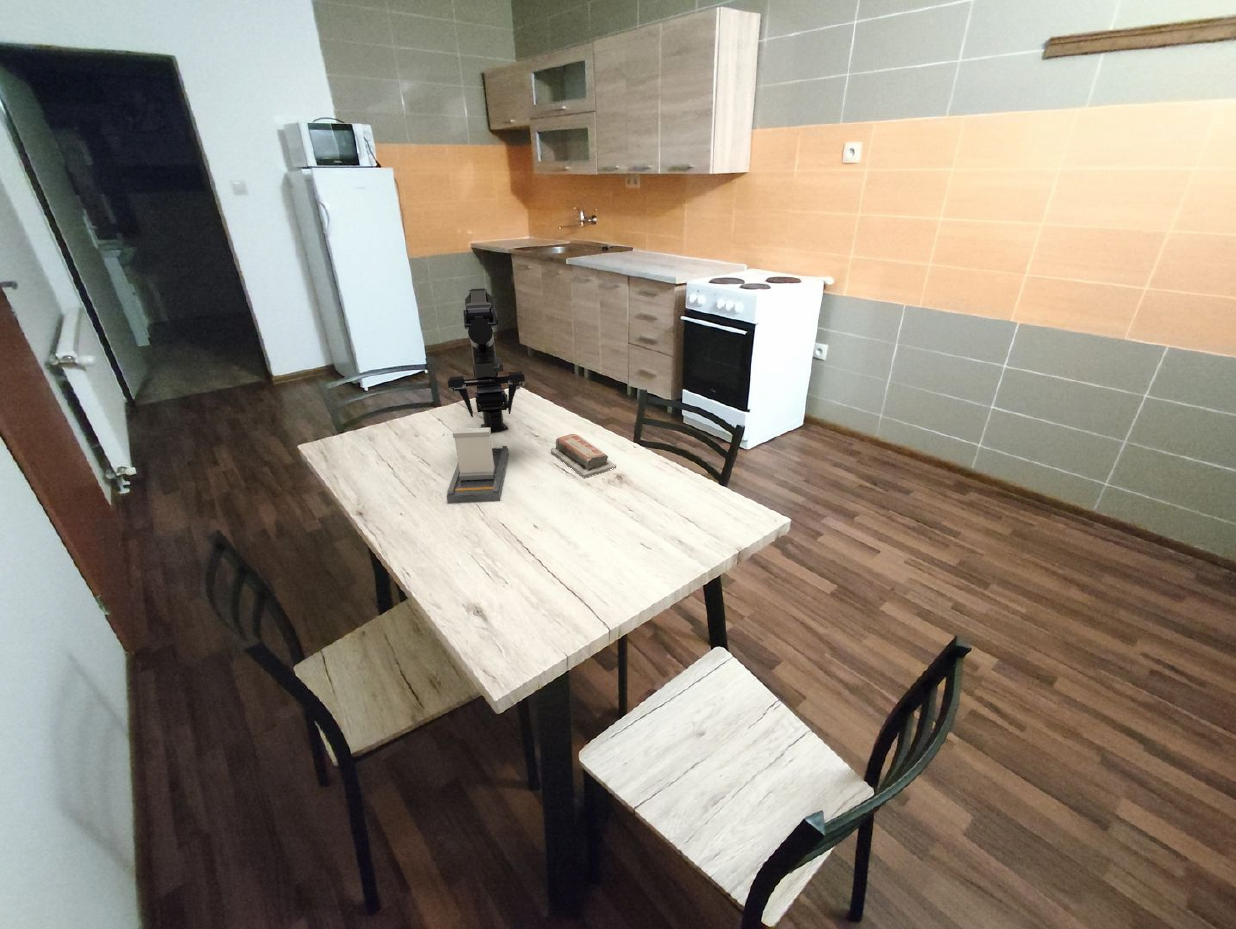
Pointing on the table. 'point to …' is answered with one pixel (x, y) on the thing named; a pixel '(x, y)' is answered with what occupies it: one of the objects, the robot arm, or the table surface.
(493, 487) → the tray
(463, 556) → the table surface
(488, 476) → the fader paddle
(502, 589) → the table surface
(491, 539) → the table surface
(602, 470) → the packaged product
